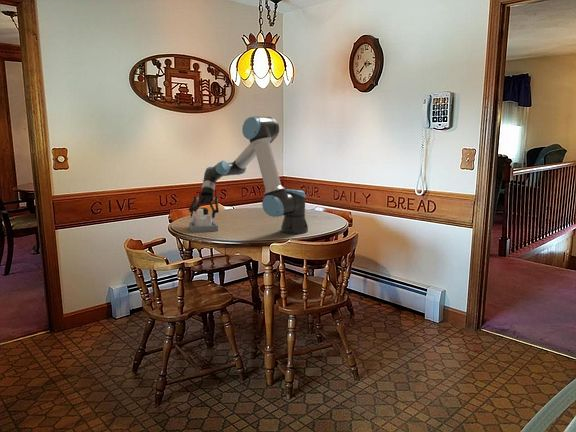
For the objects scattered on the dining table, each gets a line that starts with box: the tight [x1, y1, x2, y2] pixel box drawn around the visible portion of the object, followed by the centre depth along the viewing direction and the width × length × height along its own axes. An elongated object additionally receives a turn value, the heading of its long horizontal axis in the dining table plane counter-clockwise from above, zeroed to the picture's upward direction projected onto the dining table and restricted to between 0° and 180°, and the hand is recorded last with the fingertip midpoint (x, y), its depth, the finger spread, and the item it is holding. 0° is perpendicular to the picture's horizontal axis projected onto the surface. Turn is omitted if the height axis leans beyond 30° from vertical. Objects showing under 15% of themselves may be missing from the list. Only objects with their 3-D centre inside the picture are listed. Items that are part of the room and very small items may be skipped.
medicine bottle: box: [194, 207, 212, 227], centre depth 255 cm, size 7×7×12 cm
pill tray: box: [188, 220, 219, 234], centre depth 255 cm, size 14×14×3 cm
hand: (201, 222), depth 252 cm, fingers closed on medicine bottle, 10 cm apart
